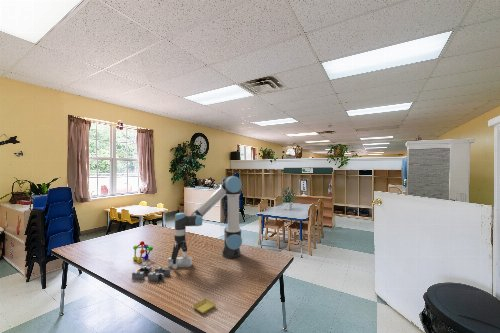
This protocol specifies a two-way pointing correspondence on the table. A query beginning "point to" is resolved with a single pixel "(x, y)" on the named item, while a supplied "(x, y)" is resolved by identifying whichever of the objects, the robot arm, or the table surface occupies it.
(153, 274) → the dark grey blocks
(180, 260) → the link bar
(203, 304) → the yellow tray
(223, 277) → the table surface
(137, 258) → the educational toy
